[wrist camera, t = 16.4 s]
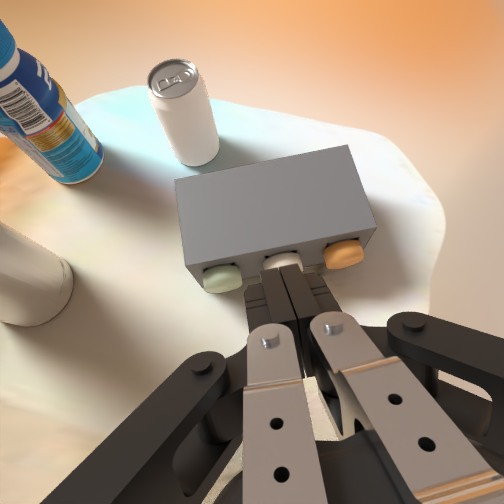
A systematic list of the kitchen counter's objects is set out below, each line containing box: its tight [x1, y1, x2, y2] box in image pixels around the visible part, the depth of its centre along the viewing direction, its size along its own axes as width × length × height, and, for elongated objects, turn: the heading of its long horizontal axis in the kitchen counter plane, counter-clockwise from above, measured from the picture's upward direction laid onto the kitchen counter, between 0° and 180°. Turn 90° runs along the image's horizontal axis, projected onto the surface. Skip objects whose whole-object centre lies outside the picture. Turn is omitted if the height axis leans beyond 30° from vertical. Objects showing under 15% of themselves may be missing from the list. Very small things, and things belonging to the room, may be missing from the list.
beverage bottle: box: [0, 20, 104, 184], centre depth 40 cm, size 8×8×20 cm
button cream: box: [263, 251, 303, 272], centre depth 37 cm, size 4×5×4 cm
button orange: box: [323, 239, 365, 269], centre depth 37 cm, size 4×5×4 cm
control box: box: [174, 145, 377, 288], centre depth 39 cm, size 19×10×8 cm, turn 101°
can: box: [147, 59, 219, 166], centre depth 43 cm, size 6×6×12 cm
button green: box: [202, 263, 242, 293], centre depth 37 cm, size 4×5×4 cm
